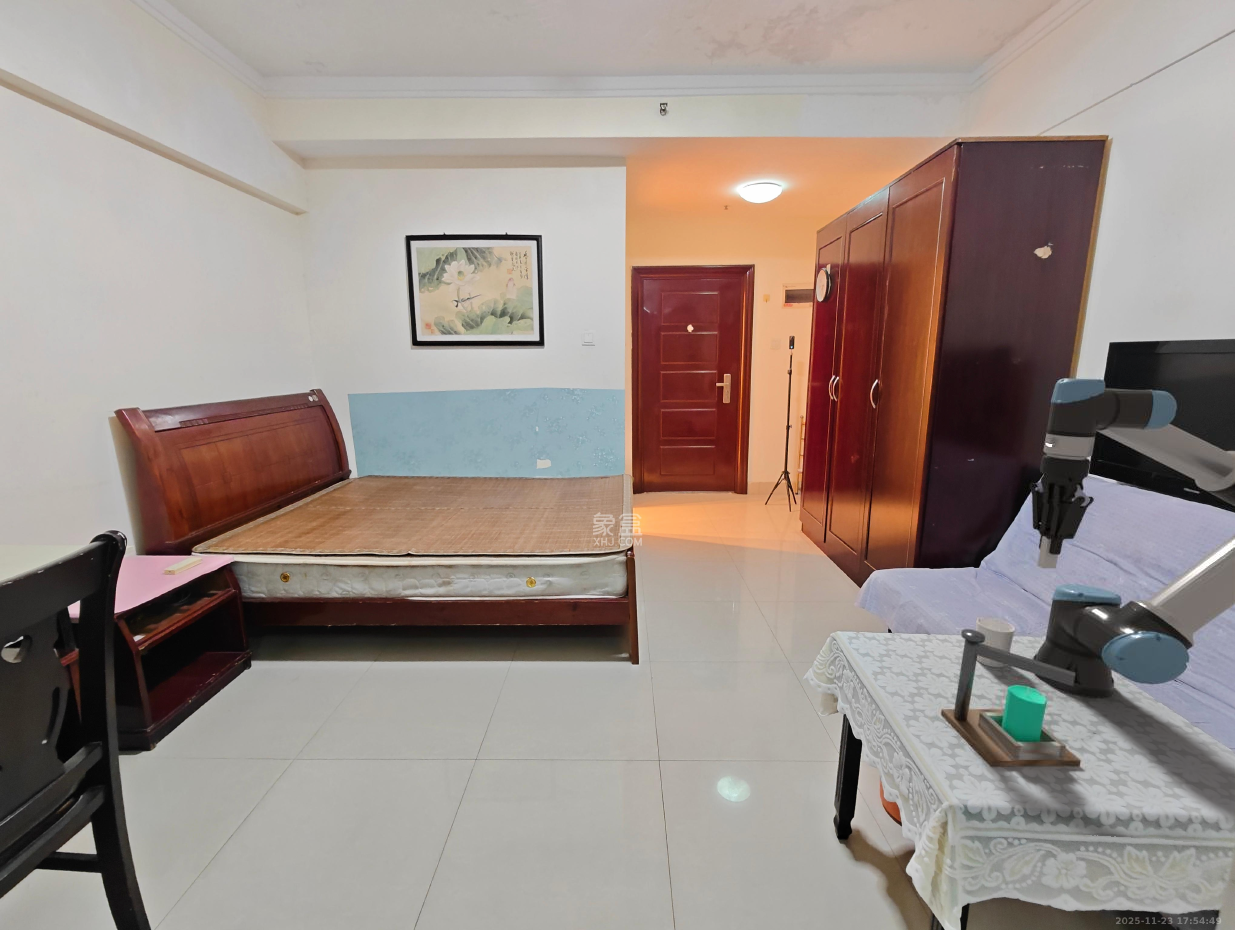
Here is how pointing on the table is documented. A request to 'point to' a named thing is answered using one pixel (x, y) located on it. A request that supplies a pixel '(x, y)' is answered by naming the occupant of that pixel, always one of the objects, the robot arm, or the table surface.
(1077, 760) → the board
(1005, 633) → the white cup
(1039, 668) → the bar
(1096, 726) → the table surface
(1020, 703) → the candle
